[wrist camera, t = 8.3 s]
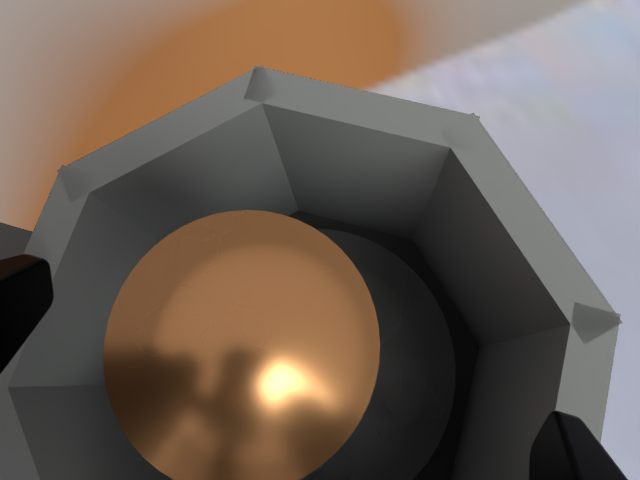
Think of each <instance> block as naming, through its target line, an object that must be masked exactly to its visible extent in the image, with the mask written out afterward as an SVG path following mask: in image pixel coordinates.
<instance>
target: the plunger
mask: <svg viewBox="0 0 640 480" xmlns="http://www.w3.org/2000/svg"><path fill="white" fill-rule="evenodd" d="M103 362H104V377H105V383H106V388H107V393H108V397H109V400H110V403H111V406H112V409H113V412H114V414H115V416H116V418H117V420H118V423H119V425H120V427H121V429H122V430H123V432H124V433H125V435H126V436H127V438H128V439H129V441H130V442H131V444H132V445H133V446H134V447H135V448H136V450H137V451H138V452H139V453H140V454H141V455H142V456H143V457H144V459H146V460H147V461H148V462H149V463H150V464H152V465H153V466H154V467H155V468H156V469H158V470H159V471H160V472H162V473H164V474H165V475H167V476H168V477H170V478H172V479H173V480H413V479H414V478H415V477H416V476H417V475H418V473H419V472H420V471H421V470H422V469H423V467H424V466H425V465H426V464H427V462H428V461H429V459H430V458H431V456H432V454H433V453H434V451H435V450H436V448H437V446H438V445H439V442H440V440H441V438H442V436H443V433H444V431H445V429H446V427H447V423H448V420H449V416H450V413H451V410H452V405H453V399H454V392H455V374H456V367H455V358H454V349H453V344H452V340H451V336H450V332H449V329H448V326H447V323H446V321H445V318H444V315H443V313H442V311H441V309H440V307H439V305H438V303H437V301H436V299H435V298H434V296H433V294H432V293H431V291H430V290H429V289H428V287H427V286H426V284H425V283H424V282H423V280H422V279H421V278H420V277H419V276H418V275H417V274H416V273H415V272H414V270H413V269H412V268H411V267H410V266H408V265H407V264H406V263H405V262H404V261H402V260H401V259H400V258H399V257H398V256H396V255H395V254H393V253H392V252H390V251H389V250H387V249H386V248H384V247H383V246H381V245H379V244H377V243H374V242H372V241H370V240H368V239H366V238H363V237H360V236H357V235H354V234H351V233H347V232H342V231H337V230H331V229H317V228H313V227H312V226H310V225H308V224H305V223H303V222H301V221H299V220H297V219H294V218H291V217H288V216H285V215H282V214H278V213H273V212H268V211H257V210H238V211H228V212H223V213H217V214H213V215H210V216H207V217H203V218H200V219H197V220H195V221H193V222H191V223H189V224H187V225H184V226H182V227H181V228H179V229H177V230H176V231H174V232H172V233H171V234H169V235H168V236H166V237H165V238H164V239H163V240H161V241H160V242H159V243H157V244H156V245H155V246H154V247H153V248H152V249H151V250H150V251H149V252H148V253H147V254H146V255H145V256H144V257H143V258H142V259H141V260H140V261H139V262H138V264H137V265H136V266H135V268H134V269H133V270H132V271H131V273H130V274H129V276H128V278H127V279H126V281H125V282H124V284H123V286H122V287H121V289H120V291H119V294H118V296H117V298H116V300H115V302H114V305H113V308H112V311H111V314H110V317H109V320H108V324H107V329H106V335H105V340H104V355H103Z"/></svg>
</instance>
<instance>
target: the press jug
mask: <svg viewBox="0 0 640 480" xmlns="http://www.w3.org/2000/svg"><path fill="white" fill-rule="evenodd" d="M479 118H480V117H479V116H476V115H475V114H474V113H472V114H466V113H461V112H457V111H452V110H448V109H443V108H439V107H435V106H430V105H426V104H421V103H417V102H412V101H408V100H404V99H399V98H395V97H390V96H386V95H381V94H377V93H373V92H368V91H364V90H359V89H355V88H350V87H346V86H341V85H337V84H333V83H328V82H324V81H319V80H315V79H310V78H306V77H302V76H297V75H293V74H288V73H284V72H279V71H275V70H270V69H266V68H263V66H262V65H261V66H259V67H257V66H255V68H254V69H253V70H252V71H250V72H248V73H246V74H244V75H242V76H240V77H238V78H236V79H234V80H232V81H230V82H229V83H226V84H224V85H222V86H220V87H218V88H216V89H215V90H213V91H211V92H209V93H207V94H205V95H203V96H201V97H199V98H197V99H195V100H193V101H192V102H189V103H187V104H186V105H183V106H182V107H180V108H178V109H176V110H174V111H172V112H170V113H168V114H166V115H164V116H162V117H160V118H158V119H156V120H154V121H152V122H150V123H149V124H147V125H145V126H143V127H141V128H139V129H137V130H135V131H133V132H131V133H129V134H127V135H125V136H123V137H121V138H120V139H118V140H115V141H114V142H112V143H110V144H108V145H106V146H104V147H102V148H100V149H98V150H96V151H94V152H92V153H90V154H88V155H87V156H84V157H82V158H81V159H79V160H77V161H75V162H73V163H71V164H69V165H67V166H63V165H62V167H61V169H59V170H58V173H59V174H58V176H57V179H56V181H55V183H54V185H53V188H52V190H51V192H50V194H49V197H48V199H47V201H46V203H45V206H44V208H43V210H42V212H41V215H40V217H39V220H38V222H37V224H36V226H35V229H34V231H33V232H31V231H28V230H24V229H21V228H17V227H14V226H10V225H7V224H3V223H0V260H2V259H6V258H9V257H13V256H17V255H21V254H30V255H33V256H36V257H40V258H43V259H45V260H47V261H48V263H49V265H50V269H51V277H52V284H53V291H54V299H53V302H52V305H51V307H50V309H49V310H48V311H47V313H46V314H45V315H44V317H43V318H42V319H41V321H40V322H39V323H38V325H37V326H36V328H35V329H34V330H33V332H32V333H31V334H30V336H29V337H28V338H27V340H26V341H25V342H24V344H23V345H22V346H21V348H20V349H19V350H18V352H17V353H16V354H15V356H14V357H13V358H12V360H11V361H10V362H9V364H8V365H7V366H6V368H5V369H4V370H3V371H2V373H1V374H0V480H173V479H172V478H170V477H168V476H167V475H165V474H164V473H162V472H160V471H159V470H158V469H156V468H155V467H154V466H153V465H152V464H150V463H149V462H148V461H147V460H146V459H144V457H143V456H142V455H141V454H140V453H139V452H138V451H137V450H136V448H135V447H134V446H133V445H132V444H131V442H130V441H129V439H128V438H127V436H126V435H125V433H124V432H123V430H122V429H121V427H120V425H119V423H118V420H117V418H116V416H115V414H114V412H113V409H112V406H111V403H110V400H109V397H108V393H107V388H106V383H105V377H104V362H103V355H104V340H105V335H106V329H107V324H108V320H109V317H110V314H111V311H112V308H113V305H114V302H115V300H116V298H117V296H118V294H119V291H120V289H121V287H122V286H123V284H124V282H125V281H126V279H127V278H128V276H129V274H130V273H131V271H132V270H133V269H134V268H135V266H136V265H137V264H138V262H139V261H140V260H141V259H142V258H143V257H144V256H145V255H146V254H147V253H148V252H149V251H150V250H151V249H152V248H153V247H154V246H155V245H156V244H157V243H159V242H160V241H161V240H163V239H164V238H165V237H166V236H168V235H169V234H171V233H172V232H174V231H176V230H177V229H179V228H181V227H182V226H184V225H187V224H189V223H191V222H193V221H195V220H197V219H200V218H203V217H207V216H210V215H213V214H217V213H223V212H228V211H238V210H257V211H268V212H273V213H278V214H282V215H285V216H288V217H291V218H294V219H297V220H299V221H301V222H303V223H305V224H308V225H310V226H312V227H313V228H317V229H331V230H337V231H342V232H347V233H351V234H354V235H357V236H360V237H363V238H366V239H368V240H370V241H372V242H374V243H377V244H379V245H381V246H383V247H384V248H386V249H387V250H389V251H390V252H392V253H393V254H395V255H396V256H398V257H399V258H400V259H401V260H402V261H404V262H405V263H406V264H407V265H408V266H410V267H411V268H412V269H413V270H414V272H415V273H416V274H417V275H418V276H419V277H420V278H421V279H422V280H423V282H424V283H425V284H426V286H427V287H428V289H429V290H430V291H431V293H432V294H433V296H434V298H435V299H436V301H437V303H438V305H439V307H440V309H441V311H442V313H443V315H444V318H445V321H446V323H447V326H448V329H449V332H450V336H451V340H452V344H453V349H454V358H455V367H456V374H455V392H454V399H453V405H452V410H451V413H450V416H449V420H448V423H447V427H446V429H445V431H444V433H443V436H442V438H441V440H440V442H439V445H438V446H437V448H436V450H435V451H434V453H433V454H432V456H431V458H430V459H429V461H428V462H427V464H426V465H425V466H424V467H423V469H422V470H421V471H420V472H419V473H418V475H417V476H416V477H415V478H414V479H413V480H529V459H530V450H531V446H532V444H533V441H534V440H535V438H536V436H537V434H538V432H539V431H540V429H541V427H542V425H543V424H544V422H545V420H546V418H547V417H548V415H549V414H550V413H551V412H552V411H561V412H564V413H567V414H571V415H574V416H577V417H579V418H580V419H582V421H583V422H584V423H585V424H586V425H587V427H588V428H589V429H590V431H591V432H592V433H593V435H594V436H595V437H596V439H597V440H598V441H599V442H600V441H601V435H602V429H603V422H604V416H605V410H606V403H607V397H608V390H609V384H610V378H611V371H612V365H613V359H614V352H615V346H616V340H617V333H618V327H619V324H621V323H622V321H621V320H620V314H617V313H615V311H614V310H613V308H612V307H611V306H610V304H609V303H608V301H607V300H606V299H605V297H604V296H603V294H602V293H601V292H600V290H599V289H598V287H597V286H596V284H595V283H594V282H593V280H592V279H591V277H590V276H589V275H588V273H587V272H586V270H585V269H584V268H583V266H582V265H581V263H580V262H579V261H578V259H577V258H576V256H575V255H574V253H573V252H572V251H571V249H570V248H569V246H568V245H567V244H566V242H565V241H564V239H563V238H562V237H561V235H560V234H559V232H558V231H557V230H556V228H555V227H554V225H553V224H552V223H551V221H550V220H549V218H548V217H547V215H546V214H545V213H544V211H543V210H542V208H541V207H540V206H539V204H538V203H537V201H536V200H535V199H534V197H533V196H532V194H531V193H530V192H529V190H528V189H527V187H526V186H525V184H524V183H523V182H522V180H521V179H520V177H519V176H518V175H517V173H516V172H515V170H514V169H513V168H512V166H511V165H510V163H509V162H508V161H507V159H506V158H505V156H504V155H503V153H502V152H501V151H500V149H499V148H498V146H497V145H496V144H495V142H494V141H493V139H492V138H491V137H490V135H489V134H488V132H487V131H486V130H485V128H484V127H483V125H482V124H481V122H480V121H479Z"/></svg>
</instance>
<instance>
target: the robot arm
mask: <svg viewBox="0 0 640 480" xmlns="http://www.w3.org/2000/svg"><path fill="white" fill-rule="evenodd" d="M53 299H54V291H53V284H52V277H51V269H50V265H49V263H48V261H47V260H45V259H43V258H40V257H36V256H33V255H30V254H21V255H17V256H13V257H9V258H6V259H2V260H0V374H1V373H2V371H3V370H4V369H5V368H6V366H7V365H8V364H9V362H10V361H11V360H12V358H13V357H14V356H15V354H16V353H17V352H18V350H19V349H20V348H21V346H22V345H23V344H24V342H25V341H26V340H27V338H28V337H29V336H30V334H31V333H32V332H33V330H34V329H35V328H36V326H37V325H38V323H39V322H40V321H41V319H42V318H43V317H44V315H45V314H46V313H47V311H48V310H49V309H50V307H51V305H52V302H53ZM529 480H628V479H627V478H626V477H625V475H624V474H623V473H622V471H621V470H620V469H619V467H618V466H617V465H616V463H615V462H614V461H613V459H612V458H611V457H610V456H609V454H608V453H607V452H606V450H605V449H604V448H603V446H602V445H601V444H600V442H599V441H598V440H597V439H596V437H595V436H594V435H593V433H592V432H591V431H590V429H589V428H588V427H587V425H586V424H585V423H584V422H583V421H582V419H580V418H579V417H577V416H574V415H571V414H567V413H564V412H561V411H552V412H551V413H550V414H549V415H548V417H547V418H546V420H545V422H544V424H543V425H542V427H541V429H540V431H539V432H538V434H537V436H536V438H535V440H534V441H533V444H532V446H531V450H530V459H529Z"/></svg>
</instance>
